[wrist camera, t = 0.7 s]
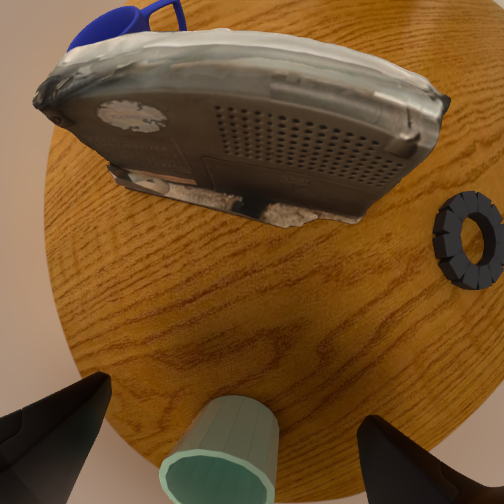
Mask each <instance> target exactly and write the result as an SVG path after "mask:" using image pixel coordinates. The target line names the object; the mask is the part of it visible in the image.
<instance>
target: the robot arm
mask: <svg viewBox="0 0 504 504" xmlns="http://www.w3.org/2000/svg"><path fill="white" fill-rule="evenodd" d="M111 395H112V388H111V377H110V375H108V374H106V373H103V372H101V371H98V372H96V373H94V374H92V375H90V376H88V377H86V378H84V379H82V380H80V381H78V382H76V383H74V384H72V385H70V386H68V387H66V388H64V389H62V390H60V391H58V392H55V393H53V394H51V395H50V396H47V397H45V398H43V399H41V400H39V401H37V402H35V403H32V404H30V405H28V406H26V407H24V408H22V410H21V409H20V410H17V411H15V412H13V413H10V414H8V415H6V416H3V417H1V418H0V504H66V503H67V500H68V498H69V496H70V494H71V491H72V489H73V487H74V484H75V482H76V480H77V478H78V475H79V473H80V471H81V469H82V467H83V465H84V462H85V460H86V458H87V456H88V454H89V452H90V450H91V448H92V445H93V444H94V441H95V439H96V437H97V435H98V433H99V430H100V428H101V425H102V422H103V419H104V416H105V413H106V410H107V407H108V405H109V402H110V399H111ZM357 440H358V449H359V457H360V465H361V471H362V475H363V480H364V484H365V489H366V493H367V498H368V502H369V504H504V486H501V487H486V486H484V485H482V484H479V483H477V482H475V481H474V480H472V479H470V478H468V477H466V476H464V475H462V474H461V473H459V472H457V471H455V470H454V469H452V468H451V467H449V466H448V465H446V464H444V463H443V462H442V461H440V460H438V459H437V458H436V457H435V456H433V455H432V454H430V453H429V452H427V451H426V450H425V449H423V448H422V447H420V446H419V445H418V444H416V443H415V442H414V441H412V440H411V439H410V438H408V437H407V436H405V435H404V434H403V433H401V432H400V431H399V430H397V429H396V428H395V427H393V426H392V425H391V424H389V423H388V422H387V421H386V420H384V419H383V418H382V417H380V416H379V415H368V416H366V418H365V419H364V421H363V422H362V424H361V425H360V426H359V428H358V430H357Z"/></svg>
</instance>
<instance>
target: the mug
mask: <svg viewBox="0 0 504 504" xmlns="http://www.w3.org/2000/svg"><path fill="white" fill-rule="evenodd" d="M169 4H173V7H174V10H175V13H176V16H177V20H178V24H179V31H186V32H187V27H186V22H185V17H184V13H183V10H182V6H181V3H180V0H159V1H157V2H155V3H153V4H151V5H149V6H147V7H145V8H144V9H142V10H139V9H138V8H137V7H134V6H124V7H120V8H117V9H114V10H111V11H109V12H107V13H106V14H104V15H102V16H100V17H99V18H97V19H95V20H94V21H92V22H91V23H90V24H89V25H87V26H86V27H85V28H84V29H83V30H82V31H81V32H80V33H79V34H78V35H77V36H76V38H75V39H74V40H73V41H72V43H71V44H70V46H69V48H68V50H67V53H68V52H69V51H70V50H72V49H74V48H75V47H80V46H85V45H89V44H94V43H97V42H101V41H104V40H107V39H110V38H114V37H118V36H121V35H124V34H128V33H138V32H143V31H151V30H150V27H149V17H150V15H151V14H152V13H153V12H155V11H157V10H158V9H160V8H162V7H164V6H167V5H169Z"/></svg>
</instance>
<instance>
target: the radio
mask: <svg viewBox="0 0 504 504" xmlns="http://www.w3.org/2000/svg"><path fill="white" fill-rule="evenodd" d="M450 102H451V98H450V97H448V96H447V95H443V94H441V93H440V92H438V91H437V90H436V89H435V88H434V87H433V86H432V85H431V83H430V82H429V81H428V79H426V78H425V77H423V76H421V75H419V74H416V73H413V72H410V71H407V70H405V69H403V68H401V67H399V66H397V65H395V64H392V63H390V62H388V61H386V60H384V59H382V58H379V57H376V56H373V55H370V54H365V53H361V52H358V51H355V50H352V49H349V48H346V47H342V46H338V45H334V44H330V43H322V42H319V41H316V40H312V39H309V38H300V37H296V36H293V35H286V34H278V33H266V32H258V31H232V30H230V29H228V28H219V29H213V30H206V31H188V32H186V31H163V32H157V31H143V32H138V33H128V34H124V35H121V36H118V37H114V38H110V39H107V40H104V41H101V42H97V43H94V44H89V45H85V46H80V47H75V48H74V49H72V50H70V51H69V52H68V53H66V54H65V55H64V56H63V57H62V58H61V59H60V60H59V62H58V63H57V64H56V66H55V68H54V69H53V70H52V72H51V73H50V74H49V75H48V76H47V78H46V80H45V81H44V82H43V83H42V84H41V85H40V86H39V88H38V89H37V91H36V94H35V96H34V98H33V105H34V107H35V108H36V109H39V110H40V111H41V112H42V113H43V114H44V115H46V116H47V118H48V119H49V120H51V121H52V122H53V123H54V124H56V125H57V126H59V127H61V128H64V129H67V130H69V131H70V132H72V133H73V134H74V135H75V136H76V137H77V138H78V139H79V140H80V141H81V142H82V143H84V144H85V145H87V146H88V147H90V148H91V149H93V150H95V151H96V152H97V153H98V154H100V155H101V156H102V157H104V158H105V159H106V160H107V161H109V162H110V165H106V166H107V168H108V170H109V172H110V174H111V175H112V177H113V178H114V180H115V182H116V183H118V184H120V185H122V186H125V188H127V189H131V190H136V191H140V192H145V193H149V194H153V195H158V196H162V197H166V198H170V199H174V200H179V201H183V202H187V203H191V204H195V205H199V206H203V207H207V208H211V209H215V210H219V211H223V212H227V213H231V214H235V215H238V216H242V217H246V218H250V219H254V220H257V221H261V222H265V223H269V224H272V225H276V226H280V227H283V228H288V227H289V226H291V225H292V226H298V227H301V226H302V225H303V223H307V222H308V221H311V220H315V219H317V218H321V219H334V220H337V221H341V222H345V223H349V224H356V223H357V222H359V221H360V220H361V219H362V218H363V217H364V215H365V214H366V212H367V209H368V208H369V207H370V206H371V205H372V204H373V203H374V202H375V201H377V200H378V199H380V198H382V197H383V196H384V195H385V194H387V193H388V192H389V191H390V190H391V189H392V188H394V187H395V186H396V184H398V183H399V182H400V181H401V179H402V178H403V177H405V176H406V175H407V174H408V173H410V172H411V171H412V170H413V169H414V168H416V167H417V166H418V165H419V164H420V163H421V162H423V161H424V160H425V159H426V158H427V157H428V156H429V154H430V153H431V152H432V150H433V149H434V147H435V145H436V143H437V141H438V137H439V133H440V129H441V125H442V118H443V115H444V114H445V113H446V112H447V110H448V108H449V105H450Z"/></svg>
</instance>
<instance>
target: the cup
mask: <svg viewBox="0 0 504 504" xmlns="http://www.w3.org/2000/svg"><path fill="white" fill-rule="evenodd" d="M278 447H279V425H278V422H277V419H276V417H275V416H274V414H273V413H272V412H271V410H270V409H268V408H267V407H266V406H265V405H264V404H262V403H260V402H259V401H257V400H254V399H252V398H249V397H245V396H239V395H228V396H222V397H218V398H216V399H214V400H212V401H210V402H209V403H207V404H206V405H205V406H204V407H203V408H202V409H201V410H200V411H199V413H198V414H197V415H196V417H195V418H194V420H193V421H192V422H191V424H190V425H189V427H188V428H187V429H186V431H185V432H184V434H183V435H182V436H181V438H180V439H179V440H178V442H177V443H176V444H175V446H174V447H173V449H172V450H171V451H170V453H169V454H168V455H167V457H166V458H165V459H164V461H163V463H162V465H161V468H160V470H159V478H160V483H161V487H162V489H163V490H164V491H165V493H166V494H167V495H168V497H169V498H170V499H171V500H172V501H173V502H174V503H175V504H274V500H275V488H276V476H277V462H278Z"/></svg>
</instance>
